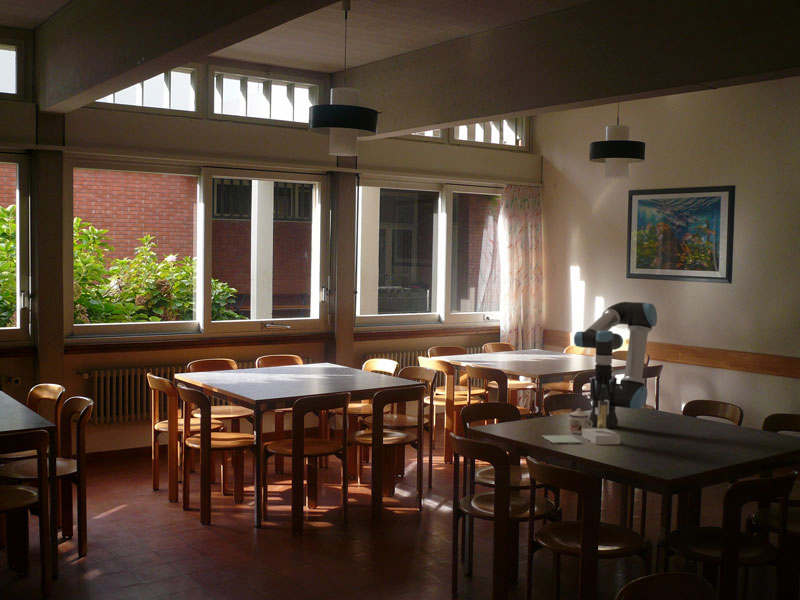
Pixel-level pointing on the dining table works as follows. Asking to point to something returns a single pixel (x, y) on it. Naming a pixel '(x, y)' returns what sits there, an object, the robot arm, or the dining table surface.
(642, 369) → the robot arm
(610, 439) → the white flat block
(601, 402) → the yellow tall cylinder
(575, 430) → the teacup with lid
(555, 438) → the mat
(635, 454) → the dining table surface
